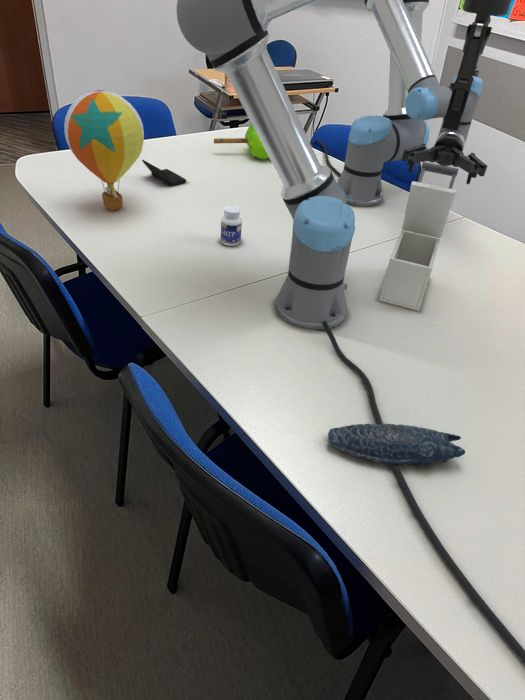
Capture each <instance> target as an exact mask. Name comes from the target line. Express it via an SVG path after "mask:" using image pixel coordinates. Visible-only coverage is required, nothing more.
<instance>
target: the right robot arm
mask: <svg viewBox="0 0 525 700" xmlns="http://www.w3.org/2000/svg"><path fill="white" fill-rule="evenodd" d="M363 3H364V5H365V7H366V9H367V11H368V12H369V13H372V14H373V15H374V18H375V20H376V22H377V25H378V27H379V29H380V31H381V34H382V36H383V39H384V41H385V43H386V44H387V47H388V50H389V79H388V81H389V82H388V104H387V105H388V106H387V107H388V108H387V109H386V110H385V111H384V113H383V114H382V115H364V116H360V117H358V118H356V119H354V121H353V122H352V123H351V125H350V131H349V133H348V140H347V147H346V152H345V153H346V154H345V158H344V165H343V170H342V172H339V170H337V169H336V168H335V167H334V166H333V164H331V162H330V160H329V156H328V155H329V154H328V151H327V147H326V146H325V145H324V144H323V143H322V142H321V140H319V139H316V140H315V141H313V144H319V145H320V146H321V147H322V149H323V150H324V151H323V152H324V157H325V161H326V164H327V165H328V167H329V168H330V170H331V171H333V172H334V173H335V174H336V175H337V176H338V177H339V178H338V180H337V181H336V182H337V183H338V184H339V185H340V187H341V188H342V189H343V191H344V193H345V195H346V199H347V204H348V205H349V206H354V207H355V206H356V207H374V206H378V205H379V204H381V202H382V200H383V196H384V193H385V189H383V185H382V184H383V183H382V172H383V168H384V163H389V162H396V161H402V162H406V166H408V170H407V173H410V174H411V173H412V172H413V171H414V169H415V166H416V163H417V164H418V163H423V162H428V163H431V164H433V163H436V164H437V165H442V166H447V167H453V168H458V169H459V168H460V169H461V170H463V171H464V172H466V173H468V174H467V178H466V182H465V184H466V185H470V184H471V181H472V178H473V179H476V178H477V177H479V176H480V177H485V174H486V172H487V168H488V165H487V164H486V163H485V162H483V161H482V159H480V158H478V156H477V155H476V153H474V152H470V153H469V154H468V155H467V154H465V152H464V149H465V145H466V142H467V139H468V136H469V132H470V129H471V125H472V123H473V122H472V121H473V118H474V115H475V113H476V110H477V106H478V103H479V99H480V97H481V92H482V89H483V84H484V81H483V80H482V78H481V77H479V76H478V77H475V76H473V77H474V79H473V82H472V86H471V89H470V92H469V96H468V99H467V102H466V106H465V109H464V112H463V114H462V117H461V120H460V124H459V127H458V130H451V129H446V128H442V127H443V124H444V120H445V116H446V113H447V109H448V106H449V102H450V98H451V95H452V91H453V89H449V88H450V84H449V85H440V83H439V80H438V78H437V76H436V73H435V71H434V68H433V66H432V65H431V61H430V60H429V58H428V55H427V53H426V51H425V48H424V46H423V44H422V36H423V35H422V34H423V19H424V18H423V17H424V15H423V14H424V12H425V10H426V9H427V8H428V7H429V5H430V0H363ZM456 79H457V75H456V76H455V77H454V78H453V81H452V83H454V82H455V81H456ZM438 118H442V122H441V125H440V128H439V133H438V136H437V138H436V140H435V143H434V145H433V146H432V147H428V143H429V139H430V127H429V125H427V124H428V123H427V121H429V120H432V119H438Z"/></svg>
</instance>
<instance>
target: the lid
mask: <svg viewBox="0 0 525 700" xmlns="http://www.w3.org/2000/svg"><path fill="white" fill-rule="evenodd" d="M425 172H429V173H433V174H434V173H435V174H439V175H445V176H450V177H451V179H450V182H449V185H448V187H443V186H440V185H434V184H433V185H432V184H429V183H424V182H422V181H423V178H424V175H425ZM458 173H459V168H458V167H453V166H442V165H439V164H437V163H431V162H427V161H425V162H422V164H421V168H420V172H419V175H418V180H417V181H415V180H412V181H411V184H410V189H409V193H408V197H407V203H406V208H405V213H404V219H403V221H402V227H401V231H406V232H411V233H415V234H419V235H424V236H428V237H432V238H437V239H442V236H443V232H444V230H445V227H446V224H447V221H448V217H449V215H450V212H451V208H452V206H453V203H454V199H455V196H456V194H457V189H453V187H454V184H455V179H456V177H457V176H458Z"/></svg>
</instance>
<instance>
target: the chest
mask: <svg viewBox="0 0 525 700" xmlns="http://www.w3.org/2000/svg"><path fill="white" fill-rule="evenodd" d="M440 242H441V238H436V237H431V236H427V235H423V234H418V233H414V232H410V231H405V230H401V231H400V233H399V235H398V238H397V241H396V243H395V245H394V248H393V250H392V252H391V255H390V257H389V261H388V264H387V268H386V272H385V276H384V279H383V284H382V287H381V293H380V295H379V299H378V300H379V301H380V302H384V303H386V304H390V305H394V306H399V307H402V308H407V309H410V310H413V311H420V309H421V306H422V304H423V303H422V302H423V299H424V296H425V293H426V290H427V287H428V283H429V281H430V278H431V274H432V271H433V268H434V264H435V260H436V257H437V253H438V249H439V245H440Z"/></svg>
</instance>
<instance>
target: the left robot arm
mask: <svg viewBox="0 0 525 700" xmlns="http://www.w3.org/2000/svg"><path fill="white" fill-rule="evenodd" d="M315 1H316V0H177V1H176V19H177V24H178V27H179V29H180V32H181V34H182V35H183V38H184V39H185V40H186V42H188V44H189V45H190V46H192V48H193V49H195V50H197V51H199V52H201V53H203V54H206V57H207V58H208V61H209V62H210V64H211V66H212V68H213V69H214V71H217V72H220V73H222V74H224V75H226V77H227V79H228V80H229V82H230V84H231V87H232V89H233V90H234V92H235V94H236V96H237V98H238V100H239V102H240V104H241V106H242V108H243V109H244V111H245V113H246V116H247V117H248V119H249V122H250V124H251V125H253V127H254V129H255V131H256V133H257V135H258V137H259V139H260V140H261V142H262V144H263V146H264V148H265V150H266V152H267V154H268V156H269V160H270V162H271V164H272V165H273V167H274V170H275V172H276V173H277V175H278V177H279V179H280V181H281V183H282V189H281V193H280V196H281V199H282V201H283V202H284V204H285V206H286V208H287V210H288V212H289V214H290V216H291V218H292V234H291V243H290V244H291V246H290V255H289V262H288V263H289V264H288V270H287V271H288V272H287V275H286V278H285V279H284V282H283V283H282V285H281V287H280V290H279V291H278V294H277V296H276V300H275V311H276V313H277V315H278V316H279V317H280V318H281V319H282V320H283V321H284V322H286V323H287V324H289V325H291V326H293V327H296V328H300V329H304V330H310V331H324V330H325V333H326V334H327V336H328V338H329V340H330V342H331V345H332V347H333V350H334V351H335V353H336V355H337V356H338V357H339V359H340V360H341V361H342V362H343V363H345V365H346V366H347V367H349V368H350V369H351V370H352V371H353V372H355V373H356V374H357V375H358V376H359V378H360V379H361V381H362V382H363V384H364V385H365V388H366V391H367V395H368V399H369V404H370V408H371V410H372V414H373V417H374V420H375V423H376V424H384V422H383V420H382V416H381V414H380V411H379V408H378V405H377V400H376V397H375V396H376V395H375V393H374V389H373V386H372V384H371V382H370V380H369V378H368V377H367V375H366V374H365V373H364V371H363V370H362V369H361V368H360V367H358V366H357V365H356V364H355V363H353V362H352V361H351V360H350V359H349V358H348V357H347V356H346V355H345V354H344V353H343V351H342V350H341V348H340V347H339V344H338V342H337V339H336V337H335V335H334V333H333V331H332V329H333V328H336V327H337V326H339V325H340V324H342V323H343V322H344V320H345V318H346V315H347V310H348V305H347V297H346V291H347V290H348V284H346V283H344V280H345V275H346V271H347V267H348V266H347V265H348V260H349V256H350V251H351V245H352V241H353V238H354V235H355V230H356V215H355V212H354V210H353V208H352V207H351V205H350V204H347V199H346V195H345V193H344V191H343V189H342V188H341V187H340V185H339V184H338V183H337V182H338V181H337V180H336V178H335V176H334V174H333V172H332V169H331V168H330V167H329V166H325V165H322V164H321V163H320V162H319V159H318V157H317V155H316V152H315V150H314V149H313V145H312V144H311V142H310V140H309V137H308V136H307V133H306V131H305V129H304V127H303V124H302V122H301V120H300V118H299V116H298V113H297V112H296V110H295V108H294V106H293V103H292V101H291V98H290V96H289V94H288V92H287V91H286V88H285V86H284V84H283V82H282V80H281V77H280V76H279V73H278V71H277V69H276V66H275V65H274V63H273V60H272V58H271V56H270V54H269V52H268V49H267V46H268V42H269V37H270V34H269V31H268V28H269V25H270V23H271V21H272V20H275V19H276V18H279V17H282V16H284V15H286V14H288V13H291V12H292V11H295V10H297V9H299V8H302V7H304V6H307V5H309V4H311V3H313V2H315ZM512 2H513V0H464V1H463V4H462V10H463V11H464V12H466V13H469V14H475V17H474V21H472V23H469V24H468V25H467V29H466V32H465V35H464V36H465V40H464V43H463V46H462V47H463V48H462V52H463V55H462V58H461V61H460V65H459V69H458V71H457V75H456V76H457V79H456V81H455V82H454V83H453V82H450V84H449V85H450V88H449V89H453V91H452V95H451V98H450V102H449V106H448V109H447V113H446V116H445V120H444V124H443V127H442V128H446V129H451V130H458V127H459V124H460V120H461V117H462V114H463V112H464V109H465V106H466V102H467V99H468V96H469V92H470V89H471V86H472V82H473V79H474V77H473V76H475V77H479V73H480V71H479V70H478V66H477V65H478V62H479V60H480V57H481V55H483V53H484V50H485V48H486V44H487V42H488V41H489V39H490V36H491V32H492V30H493V27H492V26H489V25H490V23H491V20H492V18H491V16H494V17H505V16H506V15H508V13H509V11H510V8H511V4H512ZM390 465H391V467H392V470H393V472H394V474H395V477H396V479H397V482H398V483H399V486H400V488H401V490H402V492H403V494H404V496H405V498H406V500H407V502H408V504H409V506H410V508H411V510H412V511H413V513H414V515H415V516H416V518H417V520H418V522H419V524H420V525H421V527H422V528H423V530H424V532H425V533H426V535H427V537H428V539H429V540H430V541H431V543H432V544H433V546H434V548H435V550H436V551H437V553H438V554H439V555H440V557H441V558H442V559H443V561H444V563H445V564H446V565H447V566H448V568H449V569H450V571H451V573H453V575H454V576H455V578H456V579H457V580H458V582H459V584H460V585H461V586H462V587H463V589H464V590H465V591H466V593H467V594H468V595H469V596H470V598H471V599H472V600H473V602H474V603H475V604H476V605H477V607H478V608H479V609H480V611H481V612H482V613H483V614H484V616H485V617H486V618H487V620H488V621H489V622H490V623H491V624H492V626H493V627H494V628H495V629H496V630H497V631H498V633H499V634H500V635H501V636H502V638H503V639H504V640H505V642H506V643H507V644H508V645H509V646H510V647H511V649H512V650H513V651H514V653H516V655H517V656H518V657H519V658H520V660H521V661H522V662H523V663H524V664H525V649H524V647H523V646H522V645H521V644H520V643H519V641H518V640H517V639H516V638H515V637H514V635H513V634H512V633H511V631H509V629H508V628H507V627H506V626H505V624H503V622H502V621H501V620H500V618H499V617H498V616H497V615H496V614H495V612H494V611H493V610H492V609H491V608H490V607H489V605H488V604H487V603H486V601H485V600H484V599H483V597H481V595H480V594H479V593H478V591H477V590H476V589H475V587H474V586H473V585H472V584H471V582H470V581H469V580H468V579H467V577H466V576H465V574H464V573H463V572H462V570H461V569H460V568H459V566H458V565H457V564H456V562H455V561H454V559H453V557H452V556H451V555H450V554H449V552H448V550H446V548H445V547H444V545H443V544H442V542H441V540H440V539H439V537H438V536H437V534H436V533H435V531H434V530H433V528H432V526H431V525H430V523H429V521H428V520H427V517H425V515H424V513H423V512H422V510H421V508H420V506H419V505H418V503H417V500H416V499H415V497H414V495H413V493H412V491H411V488H410V487H409V485H408V483H407V481H406V479H405V476H404V474H403V472H402V470H401V468H400V465H396V464H390Z"/></svg>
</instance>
